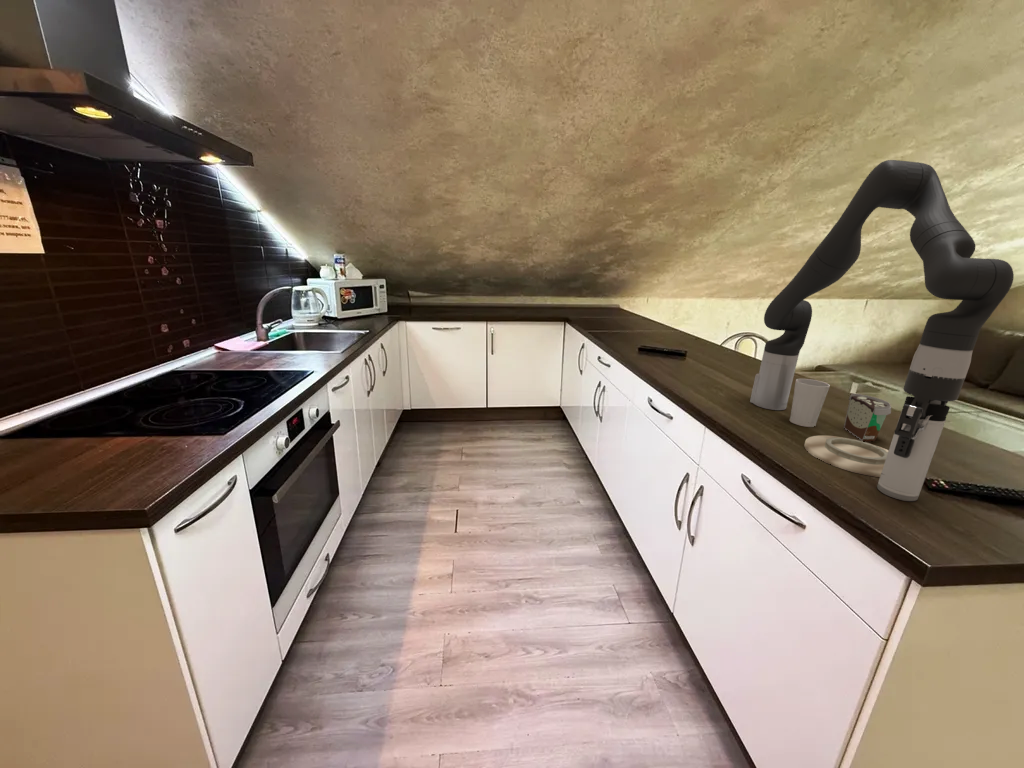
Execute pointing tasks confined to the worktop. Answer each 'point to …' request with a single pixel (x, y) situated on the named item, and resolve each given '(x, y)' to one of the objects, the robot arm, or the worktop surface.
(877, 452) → the round plate
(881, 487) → the travel mug
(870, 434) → the food container
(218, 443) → the worktop surface
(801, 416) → the cup
